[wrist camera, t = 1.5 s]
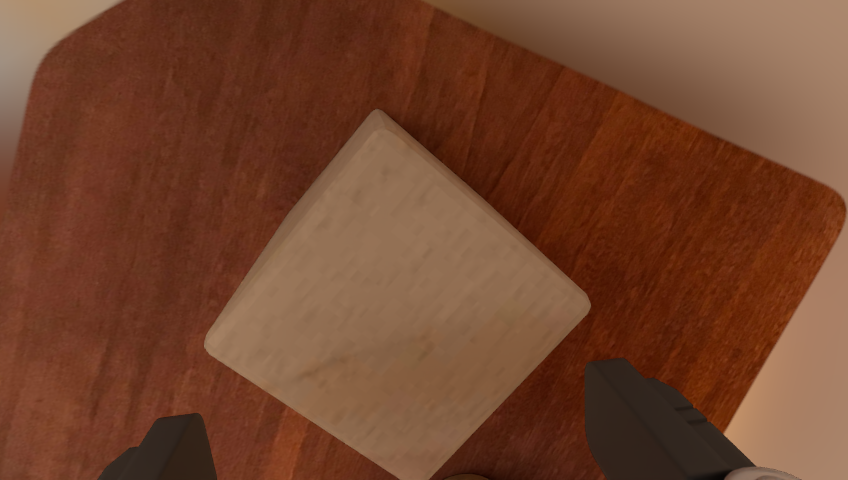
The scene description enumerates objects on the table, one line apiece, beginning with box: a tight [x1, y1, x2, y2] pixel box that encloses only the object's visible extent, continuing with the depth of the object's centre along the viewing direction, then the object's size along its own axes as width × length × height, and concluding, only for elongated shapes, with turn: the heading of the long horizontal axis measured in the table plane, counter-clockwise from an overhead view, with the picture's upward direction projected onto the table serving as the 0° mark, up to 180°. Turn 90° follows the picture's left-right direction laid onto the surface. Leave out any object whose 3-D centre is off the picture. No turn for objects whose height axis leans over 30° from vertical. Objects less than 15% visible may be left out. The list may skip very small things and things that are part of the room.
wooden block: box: [204, 109, 591, 480], centre depth 28 cm, size 10×10×20 cm
